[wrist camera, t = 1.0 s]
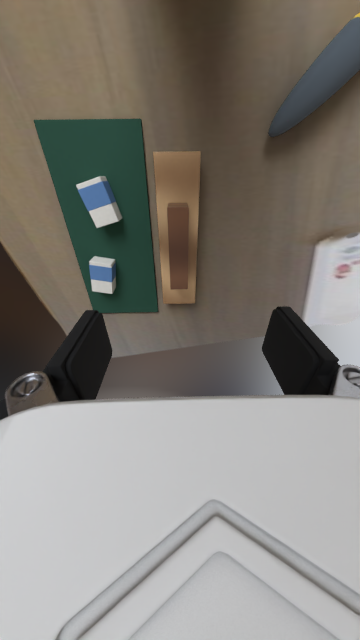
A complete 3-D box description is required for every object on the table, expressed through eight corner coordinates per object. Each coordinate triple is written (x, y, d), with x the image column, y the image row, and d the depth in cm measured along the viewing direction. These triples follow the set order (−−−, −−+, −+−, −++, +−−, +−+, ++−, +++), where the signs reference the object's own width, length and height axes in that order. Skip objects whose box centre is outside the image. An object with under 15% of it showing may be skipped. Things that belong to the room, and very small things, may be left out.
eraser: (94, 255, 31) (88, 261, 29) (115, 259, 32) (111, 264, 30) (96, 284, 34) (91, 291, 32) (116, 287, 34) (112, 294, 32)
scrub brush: (154, 153, 24) (148, 147, 19) (198, 153, 25) (205, 146, 19) (164, 296, 36) (161, 319, 31) (193, 296, 36) (197, 318, 31)
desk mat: (35, 120, 23) (33, 119, 22) (141, 119, 23) (140, 118, 22) (94, 311, 38) (94, 313, 38) (158, 310, 38) (158, 312, 38)
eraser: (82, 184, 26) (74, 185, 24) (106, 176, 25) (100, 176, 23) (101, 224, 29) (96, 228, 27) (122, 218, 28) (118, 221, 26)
